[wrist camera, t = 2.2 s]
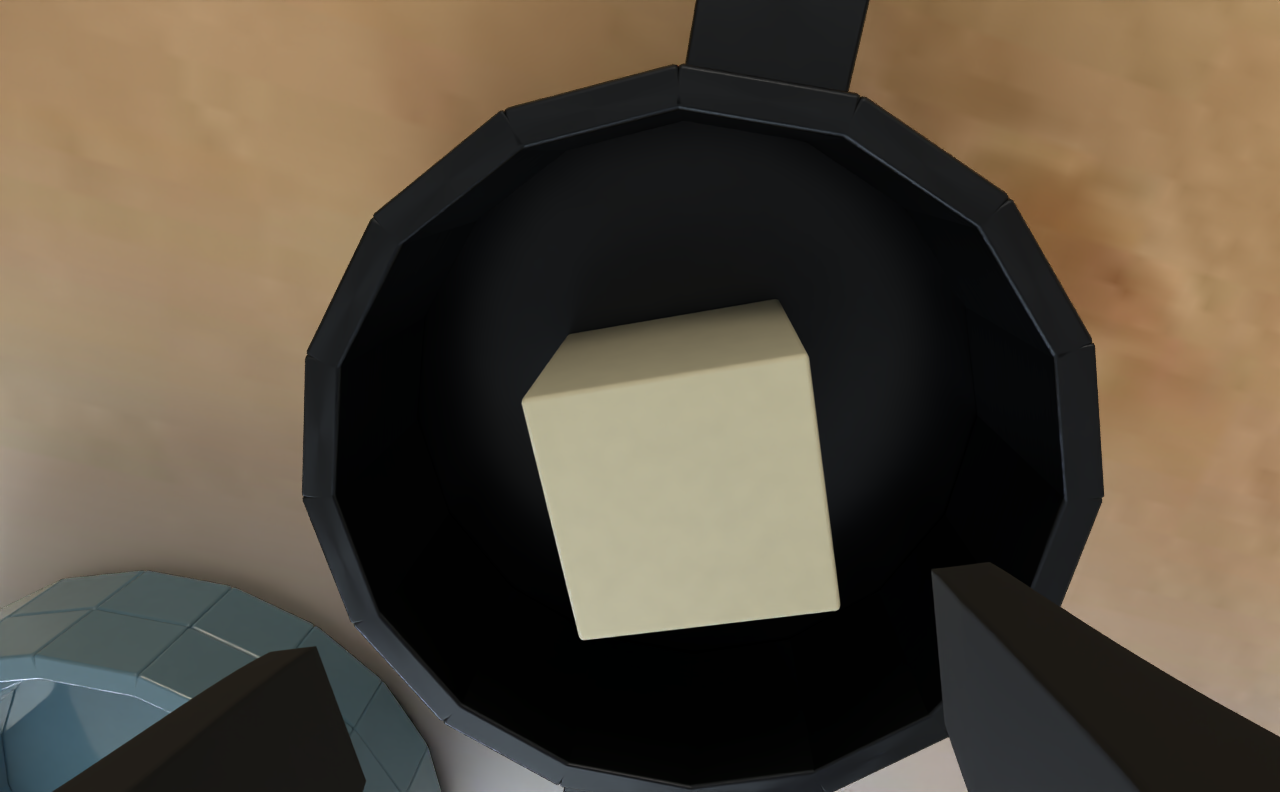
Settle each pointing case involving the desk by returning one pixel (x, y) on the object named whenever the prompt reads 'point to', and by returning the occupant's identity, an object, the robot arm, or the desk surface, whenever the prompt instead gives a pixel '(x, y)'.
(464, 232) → the pan
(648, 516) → the tofu
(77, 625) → the dish
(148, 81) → the desk surface
